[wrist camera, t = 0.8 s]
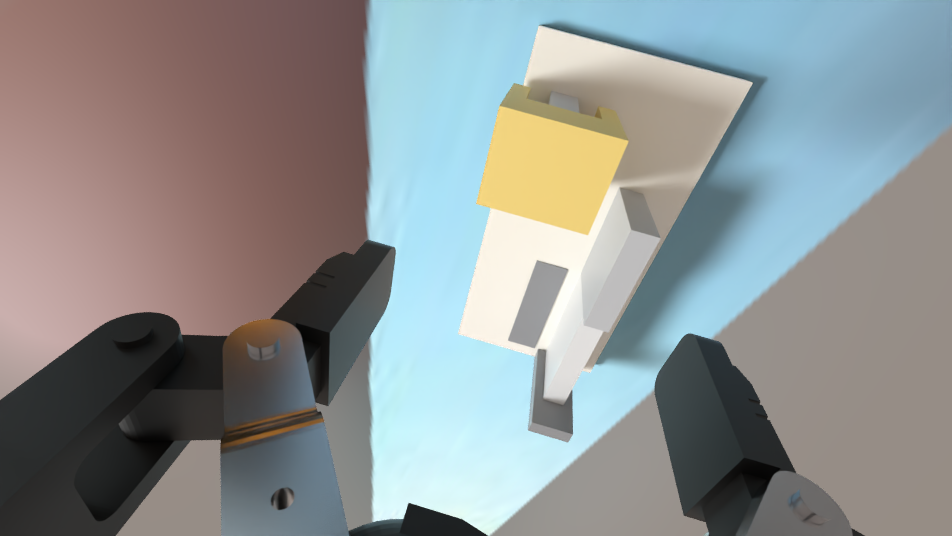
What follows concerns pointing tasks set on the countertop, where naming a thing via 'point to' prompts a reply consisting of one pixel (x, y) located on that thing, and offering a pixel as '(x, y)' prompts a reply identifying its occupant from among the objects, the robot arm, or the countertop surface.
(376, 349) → the countertop surface
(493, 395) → the countertop surface
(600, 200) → the yellow block
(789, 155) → the countertop surface
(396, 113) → the countertop surface
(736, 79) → the rail plate
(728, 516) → the robot arm
